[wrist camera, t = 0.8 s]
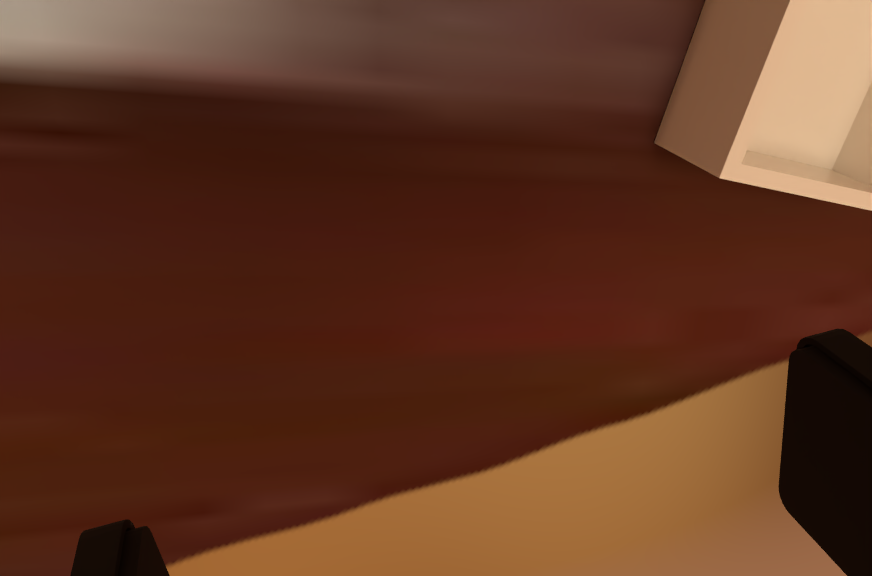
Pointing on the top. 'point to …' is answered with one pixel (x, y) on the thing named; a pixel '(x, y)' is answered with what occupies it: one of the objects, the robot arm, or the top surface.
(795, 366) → the robot arm
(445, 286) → the top surface
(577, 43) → the top surface
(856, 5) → the small beige box
